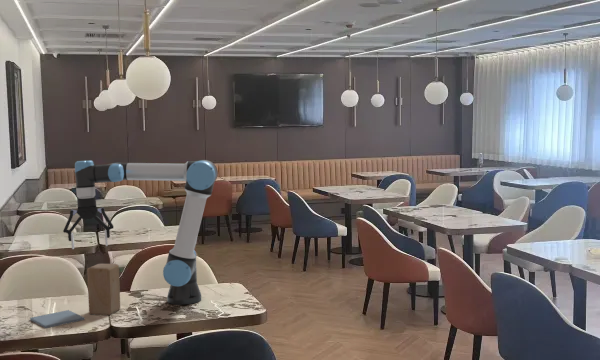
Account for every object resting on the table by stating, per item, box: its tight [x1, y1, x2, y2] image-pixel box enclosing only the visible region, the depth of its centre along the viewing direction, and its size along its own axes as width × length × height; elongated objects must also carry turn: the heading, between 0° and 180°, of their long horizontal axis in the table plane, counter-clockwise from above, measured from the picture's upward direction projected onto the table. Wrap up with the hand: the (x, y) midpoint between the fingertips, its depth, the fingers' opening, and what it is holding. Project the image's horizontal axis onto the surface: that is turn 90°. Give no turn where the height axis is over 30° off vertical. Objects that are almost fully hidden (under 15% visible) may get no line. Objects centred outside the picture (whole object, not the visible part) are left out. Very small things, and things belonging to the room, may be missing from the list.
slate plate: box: [29, 309, 86, 329], centre depth 271 cm, size 16×16×1 cm
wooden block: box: [86, 263, 121, 316], centre depth 281 cm, size 10×10×20 cm
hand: (90, 247), depth 281 cm, fingers open, 13 cm apart
